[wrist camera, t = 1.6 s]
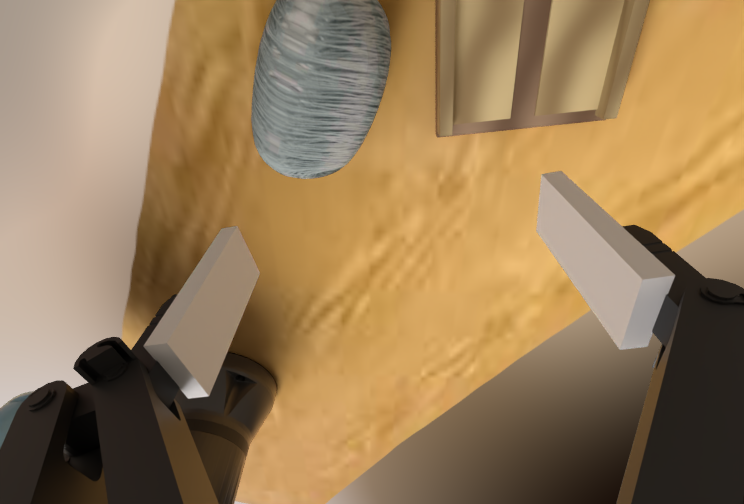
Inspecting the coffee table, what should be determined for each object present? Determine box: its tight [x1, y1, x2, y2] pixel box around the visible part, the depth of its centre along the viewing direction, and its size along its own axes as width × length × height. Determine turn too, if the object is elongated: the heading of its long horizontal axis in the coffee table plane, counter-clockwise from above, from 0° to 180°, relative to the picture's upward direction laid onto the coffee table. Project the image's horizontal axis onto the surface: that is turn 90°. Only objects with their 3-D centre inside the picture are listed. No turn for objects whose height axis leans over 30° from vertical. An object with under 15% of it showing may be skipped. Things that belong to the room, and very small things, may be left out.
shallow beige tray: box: [436, 0, 650, 137], centre depth 26 cm, size 14×15×2 cm
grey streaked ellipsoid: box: [251, 0, 391, 179], centre depth 26 cm, size 14×10×10 cm
